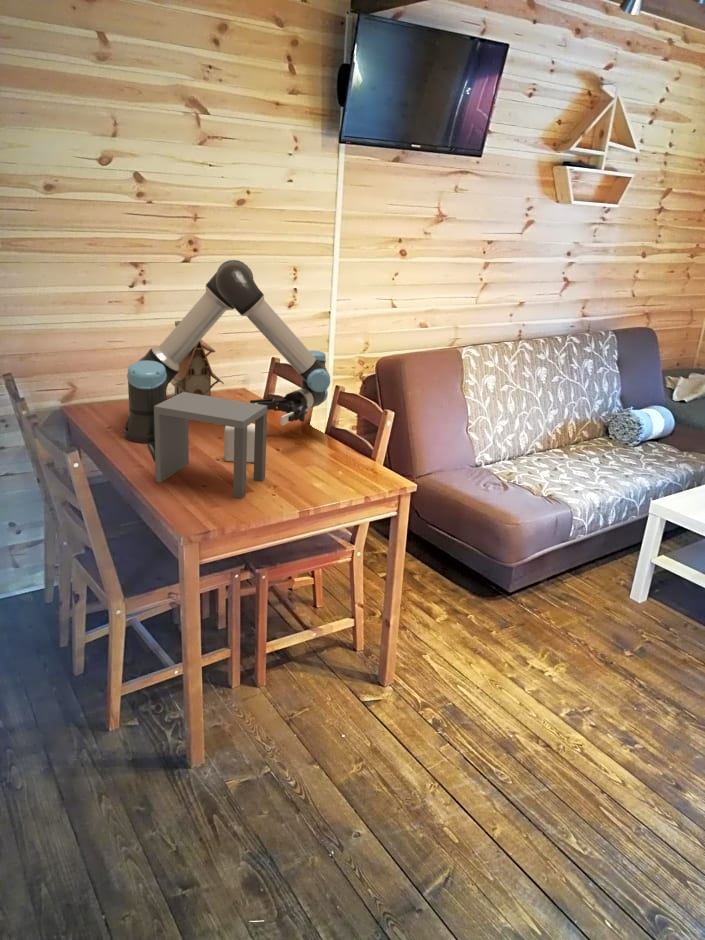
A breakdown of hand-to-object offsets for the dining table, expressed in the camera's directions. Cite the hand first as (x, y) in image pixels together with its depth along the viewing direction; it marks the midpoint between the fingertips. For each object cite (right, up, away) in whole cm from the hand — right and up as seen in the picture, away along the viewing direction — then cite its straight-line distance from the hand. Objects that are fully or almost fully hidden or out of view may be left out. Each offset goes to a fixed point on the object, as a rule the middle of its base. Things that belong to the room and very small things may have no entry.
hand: (263, 416), depth 225 cm
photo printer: (-6, -14, -5) cm, 16 cm away
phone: (-30, -12, -3) cm, 33 cm away
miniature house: (-31, +6, +39) cm, 50 cm away
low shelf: (-12, -20, -21) cm, 31 cm away
